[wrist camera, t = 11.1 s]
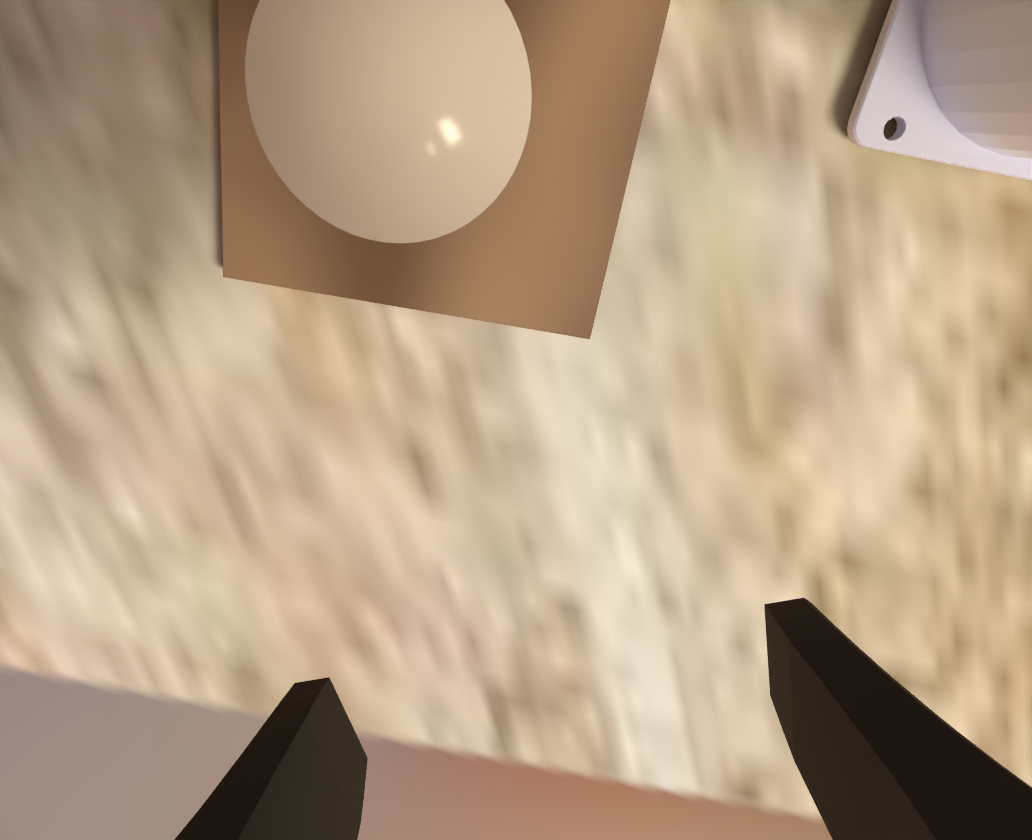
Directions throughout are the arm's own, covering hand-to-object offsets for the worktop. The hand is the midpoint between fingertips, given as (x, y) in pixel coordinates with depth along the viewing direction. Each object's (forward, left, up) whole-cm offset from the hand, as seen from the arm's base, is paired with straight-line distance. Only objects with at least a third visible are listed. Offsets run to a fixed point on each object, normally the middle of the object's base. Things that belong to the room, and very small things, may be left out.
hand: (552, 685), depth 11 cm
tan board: (+4, -8, -10) cm, 13 cm away
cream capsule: (+4, -8, -10) cm, 13 cm away
